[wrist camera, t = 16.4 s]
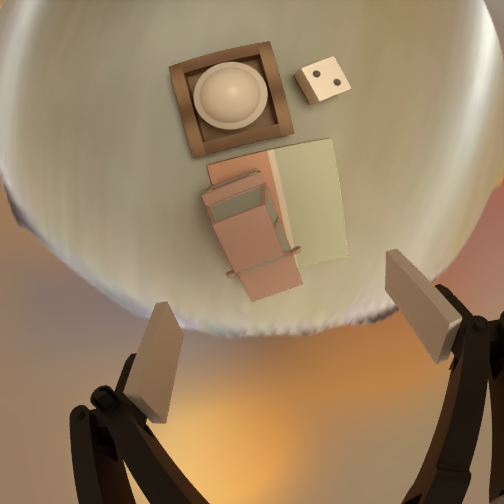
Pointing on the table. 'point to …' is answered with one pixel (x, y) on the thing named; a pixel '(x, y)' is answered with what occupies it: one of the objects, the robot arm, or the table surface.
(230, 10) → the table surface
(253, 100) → the dome
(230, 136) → the dome housing
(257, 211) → the toy car
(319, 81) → the die
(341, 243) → the board
